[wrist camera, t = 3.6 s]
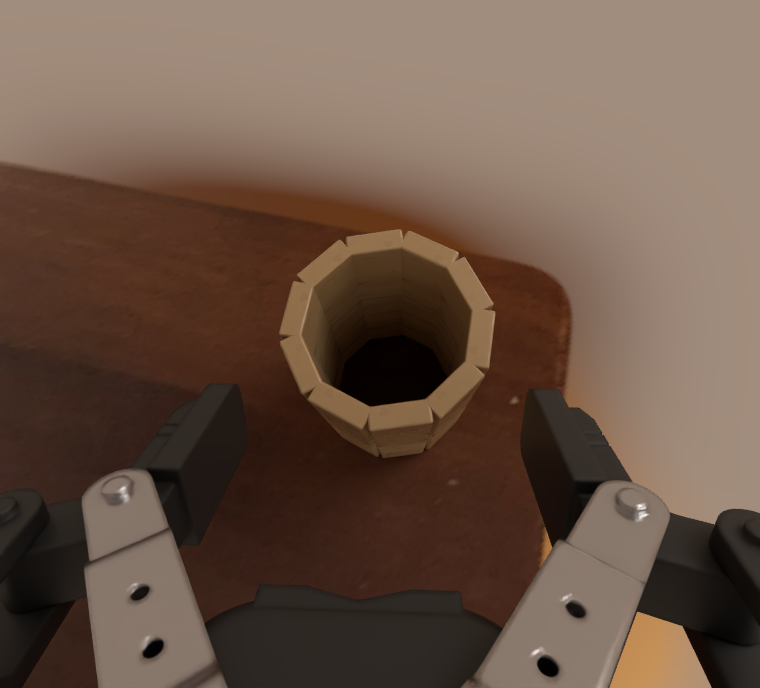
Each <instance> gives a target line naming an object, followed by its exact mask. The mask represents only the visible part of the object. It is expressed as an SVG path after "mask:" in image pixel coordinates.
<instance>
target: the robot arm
mask: <svg viewBox="0 0 760 688" xmlns="http://www.w3.org/2000/svg"><path fill="white" fill-rule="evenodd" d="M520 443H521V454H522V458H523V461H524V464H525V467H526V470H527V473H528V476H529V479H530V482H531V485H532V488H533V491H534V494H535V497H536V500H537V503H538V506H539V509H540V512H541V515H542V518H543V521H544V524H545V527H546V530H547V533H548V536H549V539H550V542H551V545H552V550H551V552H550V553H549V555H548V556H547V558H546V560H545V561H544V563H543V565H542V566H541V568H540V569H539V571H538V573H537V574H536V576H535V578H534V579H533V581H532V583H531V584H530V586H529V587H528V589H527V591H526V592H525V594H524V596H523V597H522V599H521V601H520V602H519V604H518V605H517V607H516V609H515V610H514V612H513V614H512V615H511V617H510V619H509V620H508V622H507V623H506V625H505V627H504V628H501V627H500V626H499V625H497V624H496V623H494V622H492V621H491V620H489V619H487V618H485V617H483V616H481V615H479V614H476V613H474V612H471V611H468V610H465V609H463V605H462V597H461V592H459V591H432V590H407V591H402V592H397V593H392V594H387V595H383V596H378V597H373V598H368V599H363V600H354V599H350V598H347V597H344V596H340V595H337V594H334V593H330V592H327V591H323V590H320V589H317V588H313V587H310V586H298V585H271V584H259V587H258V590H257V593H256V596H255V599H254V601H253V602H249V603H245V604H242V605H239V606H236V607H234V608H231V609H229V610H227V611H225V612H223V613H221V614H219V615H217V616H216V617H214V618H212V619H210V620H209V621H208V622H206V623H205V624H204V622H203V619H202V616H201V613H200V611H199V608H198V605H197V602H196V599H195V596H194V593H193V591H192V588H191V585H190V582H189V579H188V576H187V573H186V570H185V568H184V565H183V562H182V559H181V556H180V553H179V548H180V546H181V545H199V544H200V542H201V540H202V538H203V536H204V534H205V532H206V530H207V528H208V526H209V524H210V522H211V519H212V517H213V515H214V513H215V511H216V509H217V507H218V505H219V503H220V501H221V499H222V497H223V495H224V493H225V491H226V488H227V486H228V484H229V482H230V480H231V478H232V476H233V474H234V472H235V470H236V468H237V466H238V464H239V462H240V459H241V457H242V455H243V453H244V451H245V448H246V444H247V426H246V420H245V415H244V409H243V403H242V397H241V392H240V388H239V386H238V385H237V384H208V385H207V387H206V388H205V389H204V391H203V392H202V393H201V395H200V396H199V397H198V399H197V400H196V401H189V402H187V403H186V404H184V405H183V406H181V407H180V408H178V409H177V410H175V411H174V412H173V413H172V415H171V416H170V417H169V418H168V420H167V421H166V422H165V425H164V426H162V427H161V429H160V430H159V431H158V432H157V436H154V437H153V439H152V440H151V441H150V443H149V444H148V445H147V446H146V448H145V449H144V450H143V451H142V453H141V454H140V455H139V457H138V458H137V459H136V460H135V462H134V463H133V464H132V465H131V467H130V468H129V469H124V470H120V471H116V472H113V473H111V474H108V475H106V476H104V477H102V478H101V479H99V480H98V481H96V482H95V483H94V484H92V485H91V486H90V487H89V488H88V489H87V491H86V492H85V493H84V495H83V498H78V499H73V500H68V501H63V502H58V503H53V504H49V505H45V503H44V500H43V498H42V496H41V494H40V493H39V492H38V491H36V490H34V489H27V488H23V489H15V490H11V491H7V492H4V493H1V494H0V688H22V686H23V685H24V683H25V681H26V680H27V678H28V677H29V675H30V673H31V672H32V670H33V668H34V667H35V665H36V664H37V662H38V660H39V659H40V657H41V656H42V654H43V652H44V651H45V649H46V647H47V646H48V644H49V643H50V641H51V639H52V638H53V636H54V635H55V633H56V631H57V630H58V628H59V626H60V625H61V623H62V622H63V620H64V618H65V617H66V615H67V613H68V612H69V610H70V609H71V607H72V605H73V604H74V602H75V601H76V599H80V598H84V597H87V598H88V606H89V614H90V622H91V630H92V638H93V646H94V654H95V662H96V670H97V678H98V686H99V688H609V687H610V684H611V681H612V679H613V676H614V673H615V670H616V668H617V665H618V662H619V659H620V656H621V654H622V651H623V649H624V646H625V643H626V640H627V637H628V635H629V632H630V629H631V627H632V624H633V621H634V619H635V616H636V613H637V611H638V612H641V613H644V614H647V615H650V616H653V617H656V618H659V619H662V620H666V621H669V622H672V623H675V624H678V625H681V626H683V628H684V630H685V632H686V634H687V636H688V639H689V641H690V643H691V645H692V647H693V649H694V651H695V653H696V655H697V657H698V660H699V662H700V664H701V666H702V668H703V670H704V672H705V674H706V676H707V679H708V681H709V683H710V685H711V687H712V688H760V513H757V512H754V511H750V510H744V509H729V510H726V511H723V512H722V513H721V514H720V515H719V516H718V518H717V521H716V523H715V525H714V524H710V523H707V522H703V521H699V520H695V519H691V518H686V517H683V516H679V515H676V514H673V513H670V512H669V510H668V507H667V506H666V504H665V503H664V502H663V501H662V499H661V498H659V496H657V495H656V494H655V493H653V492H652V491H650V490H649V489H647V488H645V487H643V486H641V485H638V484H635V483H633V482H632V480H631V479H630V477H629V476H628V474H627V472H626V471H625V469H624V467H623V466H622V464H621V462H620V461H619V459H618V458H617V456H616V454H615V453H614V451H613V450H612V448H611V446H609V444H608V441H607V440H606V438H605V436H604V435H602V432H601V430H600V428H599V427H598V425H597V423H596V422H595V420H594V419H593V418H591V417H590V416H589V415H588V414H586V413H585V412H584V411H583V410H581V409H580V408H569V407H568V405H567V403H566V401H565V400H564V398H563V396H562V394H561V392H560V391H559V390H558V389H529V390H528V392H527V396H526V403H525V410H524V416H523V423H522V430H521V440H520Z"/></svg>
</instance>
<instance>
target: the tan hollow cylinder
mask: <svg viewBox="0 0 760 688" xmlns="http://www.w3.org/2000/svg"><path fill="white" fill-rule="evenodd" d="M458 255H459V253H458V252H457V251H454V250H452V249H450V248H447V247H445V246H443V245H441V244H438V243H436V242H433V241H432V240H429V239H427V238H425V237H422V236H420V235H418V234H416V233H413V232H411V231H408V232H407V233H406V235H405V236H404V238H403V235H402V231H401V230H392V231H385V232H378V233H370V234H363V235H356V236H349V237H346V245H345V244H344V243H343V242H342V241H341V240H338V241H337V242H336V243H334V244H333V245H332V246H331V247H330V248H328V249H327V250H326V251H325V252H324V253H322V254H321V255H320V256H319V257H318V258H316V259H315V260H314V261H313V262H312V263H310V264H309V265H308V266H307V267H306V268H304V269H303V270H302V271H301V272H300V273H298V274H297V277H298V279H299V281H300V282H295V281H294V282H293V283H292V287H291V290H290V294H289V298H288V301H287V305H286V309H285V312H284V316H283V320H282V323H281V327H280V331H279V335H280V336H281V338H282V339H283V340H282V341H280V346H281V348H282V351H283V353H284V355H285V358H286V360H287V363H288V365H289V367H290V370H291V372H292V374H293V377H294V379H295V381H296V384H297V386H298V388H299V391H300V393H301V394H302V395H303V396H304V397H305V398H306V399H307V400H308V402H309V403H310V404H311V405H312V406H313V407H314V408H315V409H316V410H317V411H318V412H319V413H320V414H321V415H322V417H323V418H324V419H325V420H326V421H327V422H328V423H329V424H330V425H331V426H332V427H333V428H334V429H335V430H336V431H337V432H338V433H339V434H340V435H341V436H342V438H343V439H345V440H347V441H349V442H350V443H352V444H354V445H356V446H358V447H359V448H361V449H363V450H365V451H367V452H368V453H370V454H372V455H374V456H376V457H378V456H379V454H380V453H381V455H382V457H383V458H389V457H397V456H404V455H411V454H418V453H423V450H424V447H425V449H426V450H429V449H430V448H431V447H432V446H433V445H434V444H435V443H436V442H437V441H438V440H439V439H440V438H441V437H442V436H443V435H444V434H445V433H446V432H447V431H448V430H449V429H450V428H451V427H452V426H453V425H454V424H455V423H456V421H457V420H458V418H459V417H460V415H461V413H462V412H463V410H464V409H465V407H466V405H467V404H468V402H469V401H470V399H471V397H472V396H473V394H474V393H475V391H476V389H477V388H478V386H479V385H480V383H481V381H482V380H483V378H484V376H485V373H486V371H487V370H488V368H489V363H490V355H491V346H492V338H493V329H494V321H495V311H491V309H492V307H493V302H492V301H491V299H490V297H489V296H488V294H487V293H486V291H485V289H484V288H483V286H482V284H481V283H480V281H479V280H478V278H477V276H476V275H475V273H474V271H473V270H472V268H471V266H470V265H469V263H468V262H467V260H466V258H465V257H463V258H461V259H459V260H458ZM399 335H404V336H406V337H408V338H410V339H412V340H414V341H416V342H418V343H420V344H422V345H424V346H426V347H428V348H430V349H432V350H433V352H434V354H435V356H436V358H437V360H438V361H439V363H440V365H441V367H442V369H443V371H444V372H445V374H446V376H447V379H446V380H445V381H444V382H443V383H442V384H441V385H440V386H439V387H438V388H436V389H435V390H434V391H433V392H432V393H431V394H430V395H429V396H428V397H427V398H426V399H423V400H416V401H408V402H401V403H394V404H387V405H379V406H372V407H370V406H368V405H366V404H364V403H362V402H360V401H358V400H357V399H355V398H353V397H351V396H349V395H347V394H345V393H343V392H342V391H340V390H339V388H340V383H341V378H342V374H343V369H344V365H345V362H346V361H347V360H348V359H349V358H350V357H351V356H352V355H353V354H354V353H356V352H357V351H358V350H359V349H360V348H361V347H362V346H363V345H364V344H366V343H367V342H368V341H369V340H370V339H377V338H384V337H392V336H399Z"/></svg>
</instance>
